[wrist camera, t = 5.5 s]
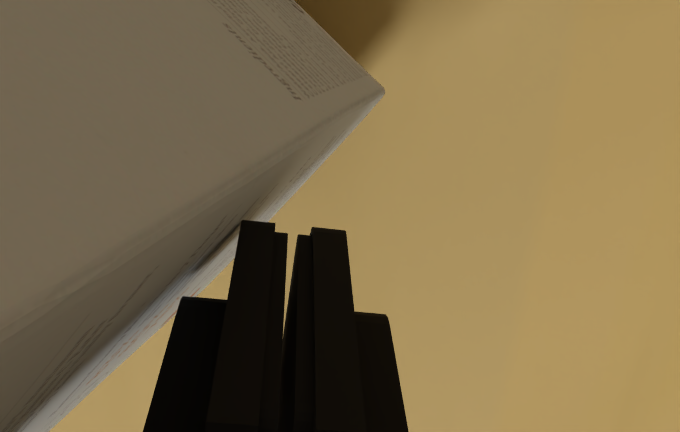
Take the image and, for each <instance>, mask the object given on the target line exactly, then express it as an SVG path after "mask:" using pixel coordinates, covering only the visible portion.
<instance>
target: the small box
mask: <svg viewBox="0 0 680 432" xmlns="http://www.w3.org/2000/svg"><path fill="white" fill-rule="evenodd" d="M384 94H385V90H384V88H383V87H382V86H381V85H380V84H379V83H378V82H377V81H376V80H375V79H374V78H373V77H372V76H371V75H370V74H369V73H368V72H367V71H366V70H365V69H364V68H363V67H362V66H361V65H360V64H359V63H358V62H357V61H355V60H354V59H353V58H352V57H351V56H350V55H349V54H348V53H347V52H346V51H345V50H344V49H343V48H342V47H341V46H340V45H339V44H338V43H337V42H336V41H335V40H334V39H333V38H332V37H331V36H330V35H329V34H328V33H327V32H326V31H325V30H324V29H323V28H322V27H321V26H320V25H319V24H318V23H317V22H316V21H315V20H314V19H313V18H312V17H311V16H310V15H308V14H307V13H306V12H305V11H304V10H303V9H302V8H301V7H300V6H299V5H298V4H297V3H296V2H295V1H294V0H0V432H48V431H50V430H51V429H52V428H53V427H54V426H55V425H56V424H57V423H58V422H60V421H61V420H62V419H63V418H64V417H65V416H66V415H67V414H68V413H69V412H70V411H71V410H72V409H73V408H75V407H76V406H77V405H78V404H79V403H80V402H81V401H82V400H83V399H84V398H85V397H86V396H87V395H88V394H89V393H90V392H91V391H92V390H93V389H95V388H96V387H97V386H98V385H99V384H100V383H101V382H102V381H103V380H104V379H105V378H106V377H107V376H108V375H110V374H111V373H112V372H113V371H114V370H115V369H116V368H117V367H118V366H119V365H121V364H122V363H123V362H124V361H125V360H126V359H127V358H128V357H129V356H130V355H132V354H133V353H134V352H135V351H136V350H137V349H138V348H139V347H140V346H141V345H143V344H144V343H145V342H146V341H147V340H148V339H149V338H150V337H151V336H152V335H154V334H155V333H156V332H157V331H158V330H159V329H160V328H161V327H162V326H163V325H165V324H166V323H167V322H168V321H169V320H170V319H171V318H172V317H173V316H175V315H176V313H177V309H178V306H179V303H180V300H181V298H182V296H188V297H196V296H197V295H198V294H199V293H200V292H202V291H203V290H204V289H205V288H206V287H207V286H208V285H209V284H210V283H211V282H212V281H213V279H214V278H215V277H216V276H217V275H218V274H219V273H220V272H221V271H222V270H223V269H224V268H225V267H226V266H227V265H228V264H229V263H230V262H231V261H232V260H233V259H234V258H235V254H236V248H237V242H238V237H239V231H240V226H241V221H242V220H251V221H260V222H268V221H269V220H270V219H271V218H272V217H273V216H274V215H275V214H276V213H277V212H278V211H279V210H280V209H281V208H282V206H283V205H284V204H285V203H286V202H287V201H288V200H289V199H290V198H291V197H292V196H293V195H294V194H295V193H296V191H297V190H298V189H299V188H300V187H301V186H302V185H303V184H304V183H305V182H306V181H307V180H308V179H309V178H310V176H311V175H312V174H313V173H314V172H315V171H316V170H317V169H318V168H319V167H320V166H321V165H322V164H323V163H324V161H325V160H326V159H327V158H328V157H329V156H330V155H331V154H332V153H333V152H334V151H335V150H336V149H337V147H338V146H339V145H340V144H341V143H342V142H343V141H344V140H345V139H346V138H347V137H348V135H349V134H350V133H351V132H352V131H353V130H354V129H355V128H356V127H357V126H358V125H359V123H360V122H361V121H362V120H363V119H364V118H365V117H366V116H367V114H368V113H369V112H370V111H371V110H372V109H373V107H374V106H375V105H376V104H377V103H378V102H379V100H380V99H381V98H382V97H383V95H384Z"/></svg>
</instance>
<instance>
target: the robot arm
mask: <svg viewBox="0 0 680 432" xmlns="http://www.w3.org/2000/svg"><path fill="white" fill-rule="evenodd" d="M287 240H288V233H279V232H275V223H270V222H260V221H251V220H242V221H241V226H240V231H239V237H238V242H237V248H236V254H235V259H234V265H233V271H232V276H231V282H230V288H229V293H228V299H227V300H221V299H210V298H199V297H188V296H182V298H181V300H180V303H179V306H178V309H177V313H176V316H175V320H174V323H173V327H172V330H171V334H170V338H169V341H168V345H167V348H166V352H165V355H164V359H163V362H162V366H161V369H160V373H159V376H158V380H157V384H156V387H155V391H154V394H153V398H152V401H151V405H150V408H149V412H148V415H147V419H146V423H145V426H144V430H143V432H408V427H407V421H406V415H405V409H404V404H403V398H402V392H401V387H400V381H399V375H398V369H397V364H396V358H395V352H394V347H393V341H392V335H391V330H390V324H389V320H388V317H387V316H386V315H385V314H375V313H364V312H354V304H353V294H352V285H351V275H350V265H349V256H348V246H347V236H346V231H344V230H335V229H326V228H316V227H312V229H311V233H310V236H308V235H298V237H297V243H296V250H295V257H294V264H293V271H292V278H291V285H290V292H289V299H288V306H287V313H286V320H285V327H284V334H283V321H284V301H285V281H286V260H287Z"/></svg>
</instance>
